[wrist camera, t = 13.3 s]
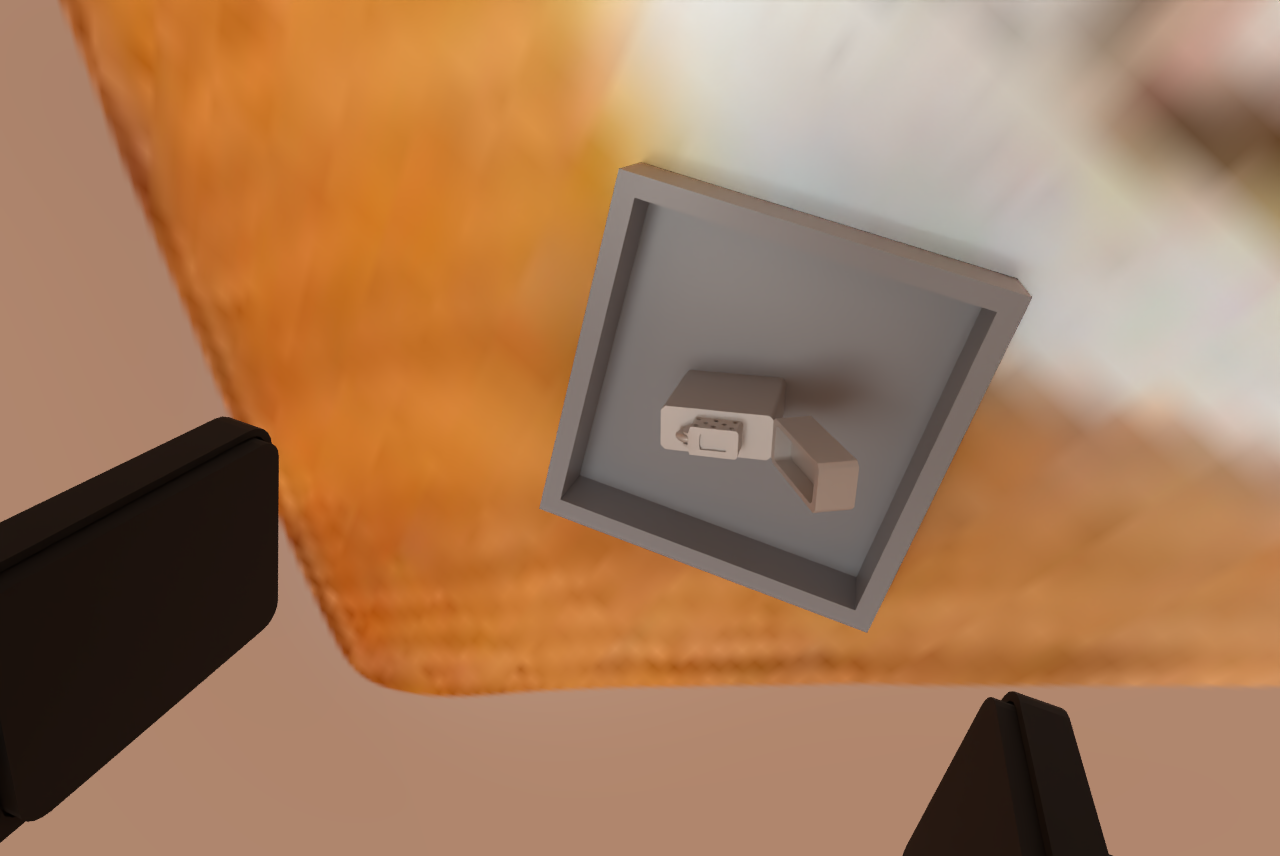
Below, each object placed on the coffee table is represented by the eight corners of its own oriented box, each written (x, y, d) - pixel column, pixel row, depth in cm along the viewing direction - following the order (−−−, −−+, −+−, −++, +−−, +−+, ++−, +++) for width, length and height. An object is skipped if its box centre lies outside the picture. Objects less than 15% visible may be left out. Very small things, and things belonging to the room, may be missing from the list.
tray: (1017, 278, 29) (1032, 297, 26) (867, 591, 35) (867, 632, 32) (641, 162, 31) (619, 168, 28) (563, 478, 37) (539, 508, 34)
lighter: (684, 408, 34) (633, 492, 26) (685, 369, 33) (633, 444, 26) (857, 425, 32) (853, 520, 25) (862, 384, 31) (859, 470, 24)
